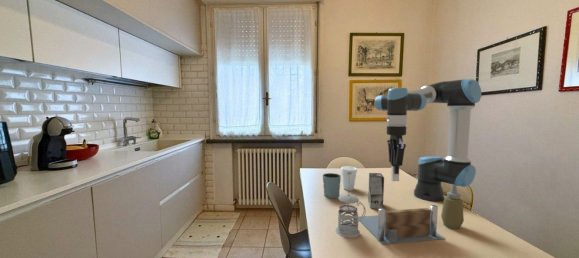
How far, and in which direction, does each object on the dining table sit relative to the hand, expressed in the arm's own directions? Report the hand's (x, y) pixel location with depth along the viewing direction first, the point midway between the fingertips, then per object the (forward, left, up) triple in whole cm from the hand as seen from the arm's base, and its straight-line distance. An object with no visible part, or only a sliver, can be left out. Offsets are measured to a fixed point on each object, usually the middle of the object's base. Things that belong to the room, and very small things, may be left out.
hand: (395, 180), depth 105 cm
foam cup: (0, -49, -20) cm, 53 cm away
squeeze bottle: (-24, +5, -20) cm, 31 cm away
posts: (+1, +12, -19) cm, 23 cm away
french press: (+21, +3, -20) cm, 29 cm away
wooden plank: (+1, +11, -19) cm, 22 cm away
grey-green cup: (+15, -38, -20) cm, 45 cm away
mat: (0, +3, -19) cm, 19 cm away
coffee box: (-3, -21, -20) cm, 29 cm away
